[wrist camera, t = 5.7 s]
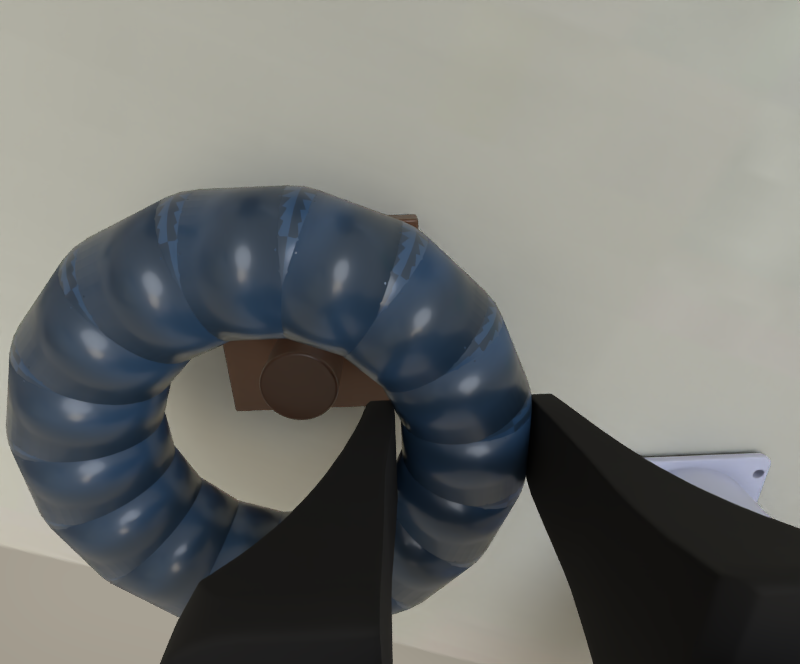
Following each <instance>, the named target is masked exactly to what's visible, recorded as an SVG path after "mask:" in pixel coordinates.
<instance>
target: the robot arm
mask: <svg viewBox="0 0 800 664" xmlns="http://www.w3.org/2000/svg"><path fill="white" fill-rule="evenodd" d="M770 465H771V461H770V459H769V458H768V457H767V456H766V455H765V454H763V453H741V454H717V455H692V456H668V457H644V458H643V457H642V456H640V455H639V454H637V453H635V452H634V451H632V450H631V449H629V448H627V447H626V446H624V445H623V444H621V443H620V442H618V441H617V440H615V439H614V438H612V437H611V436H609V435H608V434H606V433H605V432H604V431H602V430H601V429H599V428H598V427H597V426H595V425H594V424H592V423H591V422H590V421H588V420H587V419H586V418H584V417H583V416H581V415H580V414H579V413H577V412H576V411H575V410H573V409H572V408H571V407H569V406H568V405H567V404H565V403H564V402H562V401H561V400H560V399H558V398H557V397H555V396H554V395H552V394H532V416H531V427H530V438H529V449H528V460H527V471H526V478H527V482H528V485H529V489H530V492H531V495H532V497H533V500H534V502H535V505H536V507H537V510H538V512H539V514H540V517H541V519H542V521H543V524H544V526H545V528H546V531H547V533H548V535H549V538H550V540H551V542H552V545H553V547H554V549H555V552H556V554H557V556H558V559H559V561H560V564H561V566H562V568H563V571H564V573H565V576H566V578H567V581H568V583H569V586H570V589H571V592H572V595H573V598H574V601H575V604H576V607H577V611H578V614H579V617H580V620H581V623H582V627H583V630H584V633H585V636H586V640H587V643H588V647H589V650H590V654H591V657H592V660H593V664H800V528H797V527H794V526H791V525H788V524H786V523H783V522H780V521H778V520H775V519H772V518H771V517H770V516H769V515H768V514H767V513H766V512H765V511H764V510H763V509H762V508H761V507H760V506H759V505H758V504H757V501H758V498H759V495H760V493H761V490H762V487H763V484H764V482H765V479H766V476H767V473H768V470H769V468H770ZM397 504H398V490H397V461H396V435H395V410H394V407H393V405H392V403H391V402H390V400H380V401H370V402H369V403H368V404H367V405H366V407H365V410H364V412H363V415H362V417H361V419H360V421H359V423H358V425H357V427H356V429H355V431H354V432H353V434H352V436H351V437H350V439H349V441H348V442H347V444H346V446H345V447H344V449H343V450H342V452H341V453H340V455H339V456H338V458H337V459H336V460H335V462H334V463H333V465H332V466H331V468H330V469H329V470H328V472H327V473H326V474H325V476H324V477H323V478H322V479H321V481H320V482H319V483H318V484H317V485H316V487H315V488H314V489H313V490H312V491H311V492H310V493H309V494H308V496H307V497H306V498H305V499H304V500H303V501H302V502H301V503H300V504H299V505H298V506H297V507H296V508H295V509H294V510H293V511H292V512H291V513H290V514H289V515H288V516H287V517H286V518H285V519H284V520H283V521H282V522H281V523H279V524H278V525H277V526H276V527H275V528H274V529H272V530H271V531H270V532H269V533H268V534H266V535H265V536H264V537H263V538H262V539H260V540H259V541H258V542H257V543H255V544H254V545H253V546H251V547H250V548H249V549H247V550H246V551H245V552H243V553H242V554H241V555H239V556H238V557H236V558H235V559H233V560H232V561H230V562H229V563H227V564H226V565H224V566H223V567H221V568H220V569H218V570H217V571H215V572H214V573H212V574H211V575H209V576H208V577H206V578H204V579H203V580H201V581H200V582H199V583H198V585H197V587H196V589H195V590H194V592H193V594H192V596H191V598H190V599H189V601H188V603H187V605H186V607H185V608H184V610H183V612H182V614H181V616H180V618H179V620H178V622H177V624H176V626H175V628H174V631H173V633H172V636H171V638H170V640H169V643H168V645H167V648H166V650H165V653H164V655H163V657H162V660H161V663H160V664H393V659H392V602H391V597H392V574H393V560H394V546H395V532H396V518H397Z"/></svg>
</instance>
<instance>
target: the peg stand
mask: <svg viewBox="0 0 800 664" xmlns="http://www.w3.org/2000/svg"><path fill="white" fill-rule="evenodd" d="M387 216H390V217H393V218H395V219H398V220H401V221H403V222H405V223H407V224H409V225H412V226H414V227H415V228H417V229H418V219H417V216H416V215H414V214H412V215H387ZM223 347H224V352H225V357H226V362H227V367H228V372H229V377H230V382H231V387H232V392H233V397H234V402H235V407H236V410H237V411H252V410H274V411H275V412H276V413H278V414H280V415H282V416H284V417H287V418H290V419H296V420H307V419H312V418H315V417H318V416H320V415H322V414H323V413H325V412H326V411H327V410H329V409H330V408H331V407H353V406H366V405H367V404H368V403H369V402H370V401H380V400H389V398H388V396H387V394H386V393H385V391H384V389H383V387H381V386H380V385H379V384H378V383H376V382H375V381H374V380H372V379H371V378H370V377H369V376H367V375H366V374H365V373H363V372H362V371H361V370H360V369H358V368H357V367H356V366H354V365H353V364H352V363H351V362H349V361H348V360H347V359H345V358H344V357H343V356H340V355H337V354H334V353H331V352H328V351H324V350H321V349H318V348H315V347H312V346H308V345H305V344H302V343H299V342H296V341H292V340H289V339H265V340H242V341H229V342H227V343H225V344H223Z"/></svg>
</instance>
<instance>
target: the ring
mask: <svg viewBox="0 0 800 664" xmlns="http://www.w3.org/2000/svg"><path fill="white" fill-rule="evenodd" d="M265 339H289V340H292V341H296V342H299V343H302V344H305V345H308V346H312V347H315V348H318V349H321V350H324V351H328V352H331V353H334V354H337V355H340V356H343V357H344V358H345V359H347V360H348V361H349V362H351V363H352V364H353V365H354V366H356V367H357V368H358V369H360V370H361V371H362V372H363V373H365V374H366V375H367V376H369V377H370V378H371V379H372V380H374V381H375V382H376V383H378V384H379V385H380V386H381V387H383V389H384V391H385V393H386V394H387V396H388V398H389V400H390V402H391V403H392V405H393V407H394V409H395V411H396V413H397V414H398V416H399V418H400V420H401V435H402V450H401V452H400V454H399V456H398V459H397V490H398V504H397V518H396V532H395V546H394V560H393V574H392V597H391V602H392V614H396V613H399V612H402V611H405V610H408V609H410V608H412V607H414V606H416V605H418V604H420V603H422V602H423V601H425V600H426V599H427V598H429V597H430V596H431V595H433V594H434V593H436V592H437V591H438V590H440V589H441V588H442V587H444V586H445V585H446V584H448V583H449V582H450V581H452V580H453V579H454V578H456V577H457V576H458V575H460V574H461V573H463V572H464V571H465V570H467V569H468V568H469V567H471V566H472V565H473V564H474V563H476V562H477V561H478V559H479V558H480V557H481V556H482V555H483V554H484V552H485V551H486V550H487V548H488V546H489V545H490V543H491V541H492V540H493V538H494V537H495V535H496V533H497V532H498V530H499V528H500V527H501V525H502V523H503V522H504V520H505V518H506V517H507V515H508V513H509V512H510V510H511V508H512V507H513V505H514V504H515V502H516V500H517V499H518V497H519V495H520V493H521V491H522V488H523V485H524V482H525V477H526V471H527V460H528V449H529V438H530V427H531V416H532V394H531V391H530V387H529V383H528V380H527V377H526V375H525V372H524V370H523V367H522V365H521V362H520V360H519V357H518V355H517V352H516V350H515V347H514V345H513V342H512V340H511V337H510V335H509V332H508V330H507V327H506V325H505V322H504V320H503V317H502V315H501V313H500V311H499V309H498V307H497V305H496V303H495V302H494V301H493V300H492V299H491V297H490V296H489V295H488V294H487V293H486V292H485V290H484V289H483V288H482V287H480V286H479V285H478V284H477V283H476V282H475V281H474V280H473V279H472V278H471V277H470V276H469V275H468V274H467V273H466V272H464V271H463V270H462V269H461V268H460V267H459V266H458V265H457V264H456V263H455V262H454V261H453V260H452V259H451V258H450V257H448V256H447V255H446V254H445V253H444V252H443V251H442V250H441V249H440V248H439V247H438V246H437V245H436V244H435V243H434V242H432V241H431V240H430V239H429V238H428V237H427V236H426V235H424V234H423V233H422V232H421V231H419V230H418V229H417V228H415V227H414V226H412V225H409V224H407V223H405V222H403V221H401V220H398V219H395V218H393V217H390V216H387V215H385V214H382V213H379V212H376V211H374V210H371V209H368V208H366V207H363V206H360V205H358V204H355V203H352V202H349V201H347V200H344V199H341V198H339V197H336V196H333V195H330V194H328V193H325V192H322V191H320V190H316V189H312V188H309V187H305V186H289V185H287V186H263V187H239V188H215V189H197V190H191V191H184V192H179V193H176V194H174V195H171V196H168V197H166V198H164V199H162V200H160V201H158V202H156V203H154V204H152V205H150V206H148V207H147V208H145V209H143V210H141V211H139V212H137V213H135V214H133V215H131V216H129V217H127V218H125V219H123V220H121V221H119V222H117V223H116V224H114V225H112V226H110V227H108V228H106V229H104V230H102V231H100V232H98V233H96V234H94V235H92V236H90V237H89V238H87V239H86V240H84V241H83V242H81V243H80V244H78V245H77V246H76V247H74V248H73V249H72V250H71V251H70V252H69V254H68V255H67V256H66V257H65V258H64V259H63V260H62V262H61V263H60V265H59V266H58V268H57V269H56V271H55V272H54V274H53V275H52V277H51V278H50V280H49V281H48V283H47V284H46V286H45V287H44V289H43V290H42V292H41V293H40V295H39V296H38V298H37V299H36V301H35V302H34V304H33V305H32V307H31V308H30V310H29V311H28V313H27V314H26V316H25V317H24V319H23V320H22V322H21V323H20V325H19V327H18V329H17V331H16V333H15V335H14V337H13V340H12V344H11V348H10V354H9V375H8V395H7V416H6V433H7V438H8V443H9V446H10V448H11V451H12V453H13V456H14V458H15V460H16V462H17V464H18V467H19V469H20V471H21V473H22V475H23V477H24V480H25V482H26V484H27V486H28V488H29V491H30V493H31V495H32V497H33V499H34V501H35V504H36V506H37V508H38V510H39V512H40V514H41V516H42V517H43V518H44V520H45V521H46V523H47V524H48V525H49V526H50V528H51V529H52V530H53V531H55V532H56V533H57V534H58V535H59V536H60V537H61V538H62V539H63V540H64V541H65V542H66V543H67V544H68V545H69V546H70V547H71V548H72V549H73V550H74V551H75V552H76V553H77V554H78V555H80V556H81V557H82V558H83V559H84V560H85V561H86V562H87V563H88V564H89V565H90V566H91V567H92V568H93V569H94V570H95V571H96V572H97V573H98V574H99V575H100V576H102V577H103V578H104V579H106V580H107V581H109V582H110V583H111V584H113V585H115V586H117V587H119V588H121V589H123V590H125V591H127V592H129V593H131V594H133V595H135V596H137V597H139V598H141V599H143V600H145V601H147V602H149V603H151V604H153V605H155V606H157V607H159V608H161V609H163V610H165V611H167V612H169V613H171V614H173V615H175V616H177V617H180V616H181V614H182V612H183V610H184V608H185V607H186V605H187V603H188V601H189V599H190V598H191V596H192V594H193V592H194V590H195V589H196V587H197V585H198V583H199V582H200V581H201V580H203V579H204V578H206V577H208V576H209V575H211V574H212V573H214V572H215V571H217V570H218V569H220V568H221V567H223V566H224V565H226V564H227V563H229V562H230V561H232V560H233V559H235V558H236V557H238V556H239V555H241V554H242V553H243V552H245V551H246V550H247V549H249V548H250V547H251V546H253V545H254V544H255V543H257V542H258V541H259V540H260V539H262V538H263V537H264V536H265V535H266V534H268V533H269V532H270V531H271V530H272V529H274V528H275V527H276V526H277V525H278V524H279V523H281V522H282V521H283V520H284V519H285V518H286V517H287V516H288V515H289V514H290V513H291V512H292V511H291V512H282V511H278V510H274V509H270V508H266V507H262V506H258V505H254V504H250V503H246V502H242V501H239V500H237V499H235V498H234V497H232V496H230V495H229V494H227V493H225V492H224V491H222V490H221V489H219V488H217V487H216V486H214V485H212V484H211V483H209V482H207V481H206V480H204V479H203V478H201V477H200V476H199V475H198V474H197V473H196V471H195V470H194V469H193V468H192V466H191V465H190V464H189V463H188V462H187V460H186V459H185V458H184V457H183V455H182V454H181V453H180V452H179V450H178V449H177V448H176V447H175V446H174V443H173V439H172V435H171V432H170V428H169V425H168V421H167V418H166V414H165V408H166V404H167V399H168V394H169V389H170V384H171V382H172V381H173V380H174V378H175V377H176V376H177V375H178V374H179V373H180V371H181V370H182V369H183V368H184V367H185V365H186V364H187V363H188V362H189V361H190V360H191V359H192V358H194V357H196V356H198V355H201V354H203V353H205V352H207V351H210V350H212V349H214V348H216V347H218V346H221V345H223V344H225V343H227V342H229V341H242V340H265Z"/></svg>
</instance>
